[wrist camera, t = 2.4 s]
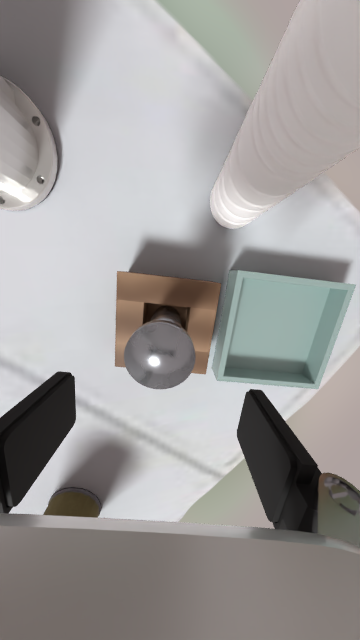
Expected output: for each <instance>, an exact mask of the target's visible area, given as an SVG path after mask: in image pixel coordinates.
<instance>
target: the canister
mask: <svg viewBox="0 0 360 640" xmlns="http://www.w3.org/2000/svg"><path fill="white" fill-rule="evenodd" d="M100 511H101V504H100V501H99V499H98V498H97V497H96V496H95V495H94V494H93V493H91V492H89V491H87V490H85V489H78V488H67V489H63V490H60V491H58V492H56V493H55V494H54V495H53V496H52V497H51V498H50V500H49V503H48V507H47V509H46V511H45V512H44V514H43V515H52V516H72V517H92V518H98V516H99V514H100Z"/></svg>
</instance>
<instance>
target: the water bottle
mask: <svg viewBox="0 0 360 640" xmlns="http://www.w3.org/2000/svg"><path fill="white" fill-rule="evenodd" d="M359 148H360V0H300V1H299V3H298V5H297V7H296V9H295V11H294V13H293V15H292V17H291V19H290V22H289V24H288V27H287V29H286V31H285V33H284V35H283V37H282V39H281V41H280V44H279V46H278V48H277V51H276V53H275V55H274V57H273V59H272V61H271V63H270V65H269V68H268V70H267V72H266V74H265V76H264V78H263V80H262V83H261V85H260V88H259V90H258V91H257V93H256V95H255V98H254V99H253V101H252V103H251V105H250V107H249V110H248V112H247V114H246V117H245V119H244V122H243V124H242V126H241V128H240V130H239V132H238V134H237V136H236V139H235V141H234V143H233V145H232V147H231V149H230V152H229V154H228V156H227V158H226V160H225V163H224V165H223V168H222V170H221V171H220V174H219V176H218V178H217V180H216V182H215V184H214V187H213V189H212V192H211V196H210V209H211V212H212V215H213V217H214V218H215V220H216V221H217V222H218V223H219V224H220V225H221V226H223V227H227V228H229V229H237V228H241V227H243V226H245V225H247V224H248V223H250V222H251V221H253V220H254V219H256V218H257V217H259V216H260V215H261V214H263V213H264V212H266V211H268V210H269V209H270V208H271V207H273V206H275V205H277V204H278V203H279V202H281V201H282V200H284V199H285V198H287V197H288V196H290V195H291V194H293V193H294V192H295V191H297V190H298V189H300V188H302V187H303V186H305V185H306V184H308V183H309V182H311V181H312V180H314V179H315V178H316V177H318V176H319V175H320V174H322V173H323V172H325V171H326V170H328V169H329V168H331V167H332V166H334V165H335V164H336V163H338V162H340V161H341V160H343V159H344V158H345V157H347V156H348V155H350V154H351V153H353V152H355V151H356V150H357V149H359Z"/></svg>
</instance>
